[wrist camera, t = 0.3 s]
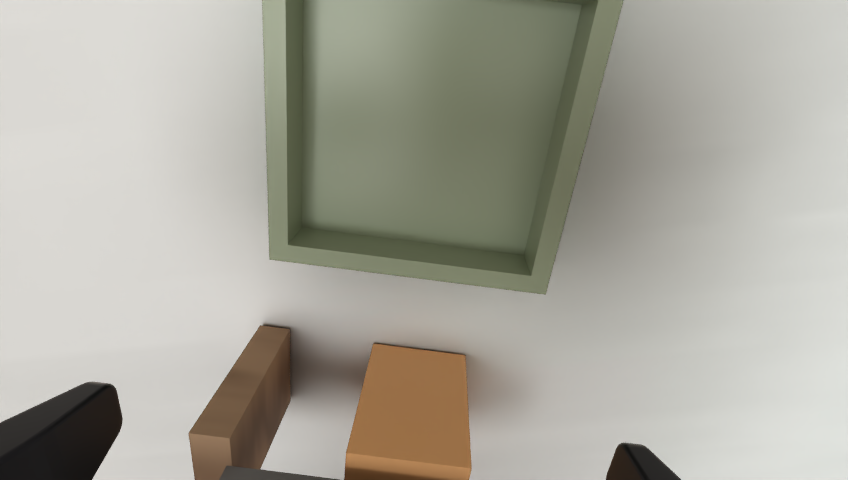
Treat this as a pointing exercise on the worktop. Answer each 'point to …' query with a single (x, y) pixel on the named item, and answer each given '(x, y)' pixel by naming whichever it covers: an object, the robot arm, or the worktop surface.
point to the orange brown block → (411, 418)
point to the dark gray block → (262, 475)
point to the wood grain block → (244, 408)
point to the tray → (429, 132)
